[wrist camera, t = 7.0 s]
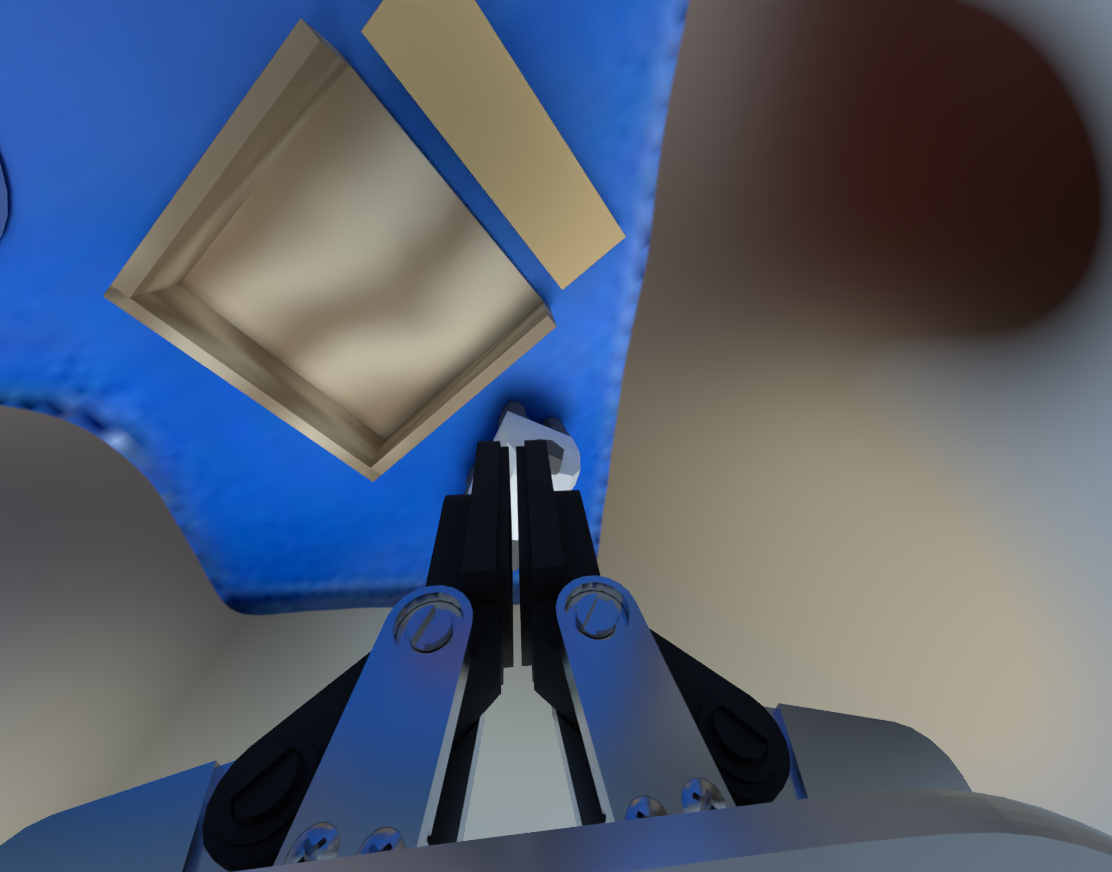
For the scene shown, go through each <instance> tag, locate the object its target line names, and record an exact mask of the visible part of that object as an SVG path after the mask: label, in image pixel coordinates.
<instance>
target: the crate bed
mask: <svg viewBox="0 0 1112 872" xmlns="http://www.w3.org/2000/svg"><path fill="white" fill-rule="evenodd" d="M103 296H104V297H105V298H106V299H108V300H109V301H111V302H112V303H114V304H115V305H117V306H118V307H120V308H121V309H122V310H124V311H125V312H127V313H128V314H130V315H131V316H133V317H134V318H136V319H137V320H138V321H140V322H141V323H143V324H144V325H146V326H147V327H149V328H150V329H152V330H153V331H154V332H156V333H157V334H159V335H160V336H162V337H163V338H165V339H166V340H167V341H169V342H170V343H172V344H173V345H175V346H176V347H178V348H179V349H181V350H182V351H183V352H185V353H186V354H188V355H189V356H191V357H192V358H194V359H195V360H197V361H198V362H199V363H201V364H202V365H204V366H205V367H207V368H208V369H210V370H211V371H213V372H214V373H215V374H217V375H218V376H220V377H221V378H223V379H224V380H226V381H227V382H229V383H230V384H231V385H233V386H234V387H236V388H237V389H239V390H240V391H242V392H243V393H244V394H246V395H247V396H249V397H250V398H252V399H253V400H255V401H256V402H258V403H259V404H260V405H262V406H263V407H265V408H266V409H268V410H269V411H271V412H272V413H274V414H275V415H276V416H278V417H279V418H281V419H282V420H284V421H285V422H287V423H288V424H290V425H291V426H292V427H294V428H295V429H297V430H298V431H300V432H301V433H303V434H304V435H306V436H307V437H308V438H310V439H311V440H313V441H314V442H316V443H317V444H319V445H320V446H321V447H323V448H324V449H326V450H327V451H329V452H330V453H332V454H333V455H335V456H336V457H337V458H339V459H340V460H342V461H343V462H345V463H346V464H348V465H349V466H351V467H352V468H353V469H355V470H356V471H358V472H359V473H361V474H362V475H364V476H365V477H367V478H368V479H369V480H371V481H372V482H374V481H375V480H376V479H377V478H378V477H379V476H381V475H382V474H383V473H384V472H385V471H387V470H388V469H389V468H390V467H391V466H392V465H394V464H395V463H396V462H397V461H398V460H400V459H401V458H402V457H403V456H404V455H405V454H407V453H408V452H409V451H410V450H411V449H413V448H414V447H415V446H416V445H417V444H418V443H420V442H421V441H422V440H423V439H424V438H426V437H427V436H428V435H429V434H430V433H431V432H433V431H434V430H435V429H436V428H437V427H439V426H440V425H441V424H442V423H443V422H444V421H446V420H447V419H448V418H449V417H450V416H452V415H453V414H454V413H455V412H456V411H457V410H459V409H460V408H461V407H462V406H463V405H465V404H466V403H467V402H468V401H469V400H470V399H472V398H473V397H474V396H475V395H476V394H477V393H479V392H480V391H481V390H482V389H483V388H485V387H486V386H487V385H488V384H489V383H490V382H492V381H493V380H494V379H495V378H496V377H498V376H499V375H500V374H501V373H502V372H503V371H505V370H506V369H507V368H508V367H509V366H511V365H512V364H513V363H514V362H515V361H516V360H518V359H519V358H520V357H521V356H522V355H524V354H525V353H526V352H527V351H528V350H529V349H531V348H532V347H533V346H534V345H535V344H537V343H538V342H539V341H540V340H541V339H542V338H544V337H545V336H546V335H547V334H548V333H550V332H551V331H552V330H553V329H554V328H555V327H557V326H556V323H555V321H554V318H553V315H552V313H551V310H550V308H549V307H548V306H547V305H546V303H545V302H544V301H543V300H542V299H541V297H540V296H539V295H538V294H537V292H536V291H535V290H534V289H533V288H532V286H531V285H530V284H529V283H528V281H527V280H526V279H525V278H524V277H523V275H522V274H521V273H520V272H519V270H518V269H517V268H516V267H515V266H514V264H513V263H512V262H511V261H510V259H509V258H508V257H507V256H506V255H505V253H504V252H503V251H502V250H501V248H500V247H499V246H498V245H497V244H496V242H495V241H494V240H493V239H492V237H491V236H490V235H489V234H488V233H487V231H486V230H485V229H484V228H483V226H482V225H481V224H480V223H479V222H478V220H477V219H476V218H475V217H474V215H473V214H472V213H471V212H470V211H469V209H468V208H467V207H466V206H465V204H464V203H463V202H462V201H461V200H460V198H459V197H458V196H457V195H456V193H455V192H454V191H453V190H452V189H451V187H450V186H449V185H448V184H447V182H446V181H445V180H444V179H443V178H442V176H441V175H440V174H439V173H438V171H437V170H436V169H435V168H434V167H433V165H432V164H431V163H430V162H429V160H428V159H427V158H426V157H425V156H424V154H423V153H422V152H421V151H420V149H419V148H418V147H417V146H416V145H415V143H414V142H413V141H412V140H411V138H410V137H409V136H408V135H407V134H406V132H405V131H404V130H403V129H402V127H401V126H400V125H399V124H398V123H397V121H396V120H395V119H394V118H393V116H392V115H391V114H390V113H389V112H388V110H387V109H386V108H385V107H384V105H383V104H382V103H381V102H380V101H379V99H378V98H377V97H376V96H375V94H374V93H373V92H372V91H371V90H370V88H369V87H368V86H367V85H366V83H365V82H364V81H363V80H362V79H361V77H360V76H359V75H358V74H357V72H356V71H355V70H354V69H353V68H352V66H351V65H350V64H349V63H348V61H347V60H346V59H345V58H344V57H343V55H342V54H341V53H340V52H339V51H338V50H337V49H336V48H335V47H334V46H333V45H332V44H330V43H329V42H328V41H327V40H326V39H325V38H323V37H322V36H321V35H320V34H319V33H318V32H316V31H315V30H314V29H313V28H312V27H311V26H310V25H308V24H307V23H306V22H305V21H304V20H303V19H301V18H300V20H299V21H298V23H297V24H296V25H295V27H294V28H293V30H292V31H291V32H290V34H289V35H288V37H287V38H286V39H285V41H284V42H283V44H282V45H281V47H280V48H279V49H278V51H277V52H276V54H275V55H274V56H273V58H272V59H271V61H270V62H269V63H268V65H267V66H266V68H265V69H264V70H263V72H262V73H261V75H260V76H259V77H258V79H257V80H256V82H255V83H254V84H253V86H252V87H251V89H250V90H249V91H248V93H247V94H246V96H245V97H244V99H243V100H242V101H241V103H240V104H239V106H238V107H237V108H236V110H235V111H234V113H233V114H232V115H231V117H230V118H229V120H228V121H227V122H226V124H225V125H224V127H223V128H222V129H221V131H220V132H219V134H218V135H217V136H216V138H215V139H214V141H213V142H212V144H211V145H210V146H209V148H208V149H207V151H206V152H205V153H204V155H203V156H202V158H201V159H200V160H199V162H198V163H197V165H196V166H195V167H194V169H193V170H192V172H191V173H190V174H189V176H188V177H187V179H186V180H185V181H184V183H183V184H182V186H181V187H180V188H179V190H178V191H177V193H176V194H175V196H174V197H173V198H172V200H171V201H170V203H169V204H168V205H167V207H166V208H165V210H164V211H163V212H162V214H161V215H160V217H159V218H158V219H157V221H156V222H155V224H154V225H153V226H152V228H151V229H150V231H149V232H148V233H147V235H146V236H145V238H144V239H143V241H142V242H141V243H140V245H139V246H138V248H137V249H136V250H135V252H134V253H133V255H132V256H131V257H130V259H129V260H128V262H127V263H126V264H125V266H124V267H123V269H122V270H121V271H120V273H119V274H118V276H117V277H116V278H115V280H114V281H113V283H112V284H111V285H110V287H109V288H108V290H107V291H106V293H105V294H104V295H103Z"/></svg>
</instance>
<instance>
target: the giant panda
mask: <svg viewBox="0 0 1112 872" xmlns="http://www.w3.org/2000/svg"><path fill="white" fill-rule="evenodd" d="M498 426H499V429H498V431H497V433H496V435H495V437H494V439H493V441H500V444H501V447H505V446H509V462H510V489H511V516H512V571H516V570H517V569H518V567H519V545H518V508H517V469H516V446H524V440H546V443H547V449H548V456H549V462H550V469H551V475H552V482H553V488H554V491H564V490H572V489H573V487H574V486H575V484H576V481H577V478H578V475H579V472H580V452H579V450H578V448H577V446H576V444H575V442H574V440H573V439H572V437H571V436H570V435H569V433H568V432H567V431H566V429H565V428H564V426H563V424H562V423H561V422H560V421H559V420H558V419H557V418H550V417H548V418H547V419H546V420H545V421H544V422H543V424H542V425H541V424H538V423H536V422H533V421H531V420H530V419H529V418H528V417H527V416H526V413H525V407H523V406H522V405H521V404H520V403H519V402H513V401H509V402H508V403H507V405H506V406H505V407H504V409H503V411H502V413H501V415H500V418H499V421H498ZM474 467H475V465H474V466H473V467H472V468H471V470H470V472H469V474H468V476H467V479H466V484H467V487H466V490H465V493H464V495H466V494H471V491H472V483H473V475H474Z"/></svg>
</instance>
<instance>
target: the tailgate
mask: <svg viewBox="0 0 1112 872" xmlns="http://www.w3.org/2000/svg"><path fill="white" fill-rule="evenodd" d="M361 32H362V33H363V34H364V36H365V37H366V38H367V40H368V41H369V42H370V43H371V45H372V46H373V47H374V49H375V50H376V51H377V52H378V54H379V55H380V56H381V58H382V59H383V60H384V61H385V63H386V64H387V65H388V67H389V68H390V69H391V70H392V72H393V73H394V74H395V76H396V77H397V78H398V79H399V81H400V82H401V83H402V85H403V86H404V87H405V88H406V90H407V91H408V92H409V94H410V95H411V96H412V97H413V99H414V100H415V101H416V103H417V104H418V105H419V106H420V108H421V109H422V110H423V112H424V113H425V114H426V115H427V117H428V118H429V119H430V121H431V122H432V123H433V124H434V126H435V127H436V128H437V130H438V131H439V132H440V133H441V135H442V136H443V137H444V139H445V140H446V141H447V142H448V144H449V145H450V146H451V148H452V149H453V150H454V151H455V153H456V154H457V155H458V157H459V158H460V159H461V160H462V162H463V163H464V164H465V166H466V167H467V168H468V169H469V171H470V172H471V173H472V175H473V176H474V177H475V178H476V180H477V181H478V182H479V184H480V185H481V186H482V187H483V189H484V190H485V191H486V193H487V194H488V195H489V196H490V198H491V199H492V200H493V202H494V203H495V204H496V205H497V207H498V208H499V209H500V211H501V212H502V213H503V214H504V216H505V217H506V218H507V220H508V221H509V222H510V223H511V225H512V226H513V227H514V229H515V230H516V231H517V232H518V234H519V235H520V236H521V238H522V239H523V240H524V241H525V243H526V244H527V245H528V246H529V248H530V249H531V250H532V252H533V253H534V254H535V255H536V257H537V258H538V259H539V261H540V262H541V263H542V264H543V266H544V267H545V268H546V270H547V271H548V272H549V273H550V275H551V276H552V277H553V279H554V280H555V281H556V282H557V284H558V285H559V286H560V288H561V289H562V290H563V289H564V288H565V287H566V286H568V285H569V284H570V283H571V282H572V281H574V280H575V279H576V278H577V277H578V276H580V275H581V274H582V273H583V272H584V271H586V270H587V269H588V268H589V267H590V266H591V265H593V264H594V263H595V262H596V261H597V260H599V259H600V258H601V257H602V256H603V255H605V254H606V253H607V252H608V251H609V250H611V249H612V248H613V247H614V246H615V245H616V244H618V243H619V242H620V241H621V240H622V239H624V238H625V237H626V236H625V235H624V233H623V232H622V230H621V229H620V227H619V225H618V224H617V222H616V221H615V219H614V218H613V216H612V214H611V213H610V211H609V210H608V208H607V207H606V205H605V203H604V202H603V200H602V199H601V197H600V196H599V194H598V193H597V191H596V189H595V188H594V186H593V185H592V183H591V182H590V180H589V178H588V177H587V175H586V174H585V172H584V171H583V169H582V167H581V166H580V164H579V163H578V161H577V160H576V158H575V156H574V155H573V153H572V152H571V150H570V149H569V147H568V145H567V144H566V142H565V141H564V139H563V138H562V136H561V134H560V133H559V131H558V130H557V128H556V127H555V125H554V124H553V122H552V120H551V119H550V117H549V116H548V114H547V113H546V111H545V109H544V108H543V106H542V105H541V103H540V102H539V100H538V98H537V97H536V95H535V94H534V92H533V91H532V89H531V87H530V86H529V84H528V83H527V81H526V80H525V78H524V76H523V75H522V73H521V72H520V70H519V69H518V67H517V65H516V64H515V62H514V61H513V59H512V58H511V56H510V55H509V53H508V51H507V50H506V48H505V47H504V45H503V44H502V42H501V40H500V39H499V37H498V36H497V34H496V33H495V31H494V29H493V28H492V26H491V25H490V23H489V22H488V20H487V18H486V17H485V15H484V14H483V12H482V11H481V9H480V7H479V6H478V4H477V3H476V1H475V0H383V1H382V2H381V4H380V5H379V7H378V8H377V10H376V11H375V12H374V14H373V15H372V17H371V18H370V19H369V21H368V22H367V24H366V25H365V26H364V28H363V29H362V31H361Z"/></svg>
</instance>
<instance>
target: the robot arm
mask: <svg viewBox="0 0 1112 872" xmlns="http://www.w3.org/2000/svg"><path fill="white" fill-rule="evenodd" d="M7 216H8V203H7V188H6V184H5V180H4V176H3V172H2V168H1V164H0V237H1V236H2V234H3V230H4V227H5V223H6V220H7ZM516 469H517V508H518V545H519V581H520V613H521V614H520V615H521V616H520V617H521V651H522V666H529V665H532V676H533V682H534V690H535V691H536V692H537V693H538V694H539V695H540V696H541V697H542V698H544V699H545V700H546V701H547V702H548V703H549V704H550V705H551V706H552V715H553V719H554V724H555V728H556V733H557V737H558V742H559V746H560V751H561V755H562V760H563V764H564V769H565V773H566V778H567V782H568V787H569V791H570V796H571V800H572V805H573V809H574V814H575V818H576V823H577V827H570V828H563V829H554V830H547V831H539V832H531V833H523V834H515V835H508V836H501V837H492V838H485V839H477V840H469V841H463V836H464V831H465V824H466V819H467V813H468V808H469V802H470V797H471V791H472V786H473V780H474V775H475V769H476V764H477V758H478V752H479V747H480V742H481V736H482V729H483V724H484V715H485V711H486V710H487V708H488V707H489V706H490V705H491V704H492V703H493V702H494V700H495V699H496V698H497V697H498V696H499V695H500V694H501V685H503V668H506V667H513V571H512V516H511V489H510V462H509V446H505V447H501V444H500V441H478V444H477V451H476V459H475V467H474V475H473V483H472V491H471V494H466V495H446V497H445V499H444V502H443V507H442V512H441V516H440V521H439V526H438V531H437V535H436V540H435V545H434V549H433V554H432V559H431V563H430V568H429V573H428V577H427V582H426V587H424V588H421V589H418V590H415V591H414V592H412V593H410V594H409V595H407V596H405V597H404V598H403V599H402V600H400V601H399V602H398V603H397V604H396V605H395V606H394V607H393V609H392V610H391V612H390V613H389V615H388V617H387V618H386V620H385V622H384V624H383V627H382V629H381V631H380V633H379V635H378V637H377V640H376V642H375V644H374V646H373V648H372V651H371V652H370V653H368V654H367V655H366V656H364V657H363V658H362V659H361V660H359V661H358V662H357V663H356V664H354V665H353V666H352V667H351V668H349V669H348V670H347V671H345V672H344V673H343V674H342V675H340V676H339V677H338V678H337V679H335V680H334V681H333V682H332V683H330V684H329V685H328V686H326V687H325V688H324V689H323V690H322V691H320V692H319V693H318V694H316V695H315V696H314V697H313V698H311V699H310V700H309V701H307V702H306V703H305V704H304V705H302V706H301V707H300V708H299V709H297V710H296V711H295V712H294V713H292V714H291V715H290V716H289V717H287V718H286V719H285V720H283V721H282V722H281V723H280V724H278V725H277V726H276V727H275V728H273V729H272V730H271V731H269V732H268V733H267V734H266V735H264V736H263V737H262V738H261V739H259V740H258V741H257V742H256V743H254V745H252V746H251V747H250V748H248V749H247V750H246V752H244V753H243V754H242V755H241V756H240V757H239V758H238V759H237V760H236V761H233V762H230V763H227V764H224V765H220V764H219V763H218V762H217V761H213V762H210V763H207V764H204V765H201V766H198V767H195V768H192V769H189V770H186V771H182V772H180V773H177V774H174V775H171V776H167V777H165V778H161V779H158V780H155V781H152V782H149V783H147V784H143V785H141V786H137V787H134V788H131V789H128V790H125V791H122V792H119V793H116V794H113V795H110V796H107V797H104V798H101V799H98V800H95V801H92V802H89V803H86V804H83V805H80V806H77V807H74V808H71V809H68V810H65V811H62V812H59V813H56V814H53V815H51V816H49V817H46V818H44V819H42V820H40V821H38V822H36V823H34V824H32V825H30V826H27V827H26V828H24V829H23V830H21V831H20V832H19V833H17V834H16V835H14V836H13V837H12V838H10V839H9V840H7V841H6V842H5V843H3V844H2V845H0V872H1112V836H1110V835H1107V834H1105V833H1103V832H1101V831H1099V830H1097V829H1094V828H1092V827H1090V826H1088V825H1085V824H1083V823H1081V822H1078V821H1076V820H1073V819H1070V818H1068V817H1065V816H1062V815H1060V814H1057V813H1054V812H1052V811H1049V810H1046V809H1043V808H1041V807H1037V806H1033V805H1029V804H1026V803H1022V802H1018V801H1015V800H1011V799H1007V798H1004V797H998V796H992V795H987V794H982V793H976V792H972V791H971V789H970V787H969V786H968V784H967V782H966V780H965V779H964V777H963V775H962V774H961V773H960V771H959V770H958V769H957V767H956V766H955V765H954V763H953V762H952V761H951V759H950V758H949V757H948V756H947V755H946V754H945V753H944V752H943V751H942V750H941V749H940V748H939V747H938V746H936V744H934V743H933V742H932V741H931V740H930V739H929V738H927V737H925V736H924V735H922V734H921V733H919V732H917V731H916V730H914V729H913V728H911V727H908V726H905V725H902V724H899V723H896V722H892V721H886V720H879V719H873V718H867V717H861V716H854V715H849V714H842V713H836V712H830V711H824V710H818V709H811V708H805V707H799V706H793V705H786V704H780V703H779V704H778V705H777V707H776V708H769V707H764V706H762V705H761V704H760V703H758V702H757V701H756V700H755V699H754V698H752V697H751V696H750V695H748V694H747V693H745V692H744V691H742V690H741V689H739V688H737V687H736V686H735V685H733V684H731V683H730V682H729V681H727V680H726V679H724V678H723V677H721V676H720V675H718V674H717V673H715V672H714V671H712V670H711V669H709V668H708V667H706V666H705V665H703V664H702V663H700V662H699V661H697V660H696V659H694V658H693V657H691V656H690V655H688V654H687V653H685V652H684V651H682V650H681V649H679V648H678V647H676V646H675V645H673V644H672V643H670V642H669V641H667V640H666V639H664V638H663V637H661V636H660V635H658V634H657V633H655V632H654V631H652V630H651V629H649V627H648V625H647V623H646V621H645V619H644V617H643V615H642V613H641V611H640V609H639V607H638V605H637V603H636V601H635V600H634V598H633V597H632V595H631V594H630V592H629V591H628V590H627V589H626V588H624V587H623V586H622V585H621V584H620V583H618V582H616V581H614V580H612V579H609V578H606V577H601V576H600V572H599V568H598V564H597V560H596V556H595V552H594V547H593V543H592V539H591V535H590V531H589V527H588V523H587V518H586V514H585V510H584V506H583V502H582V498H581V494H580V491H579V490H564V491H554V488H553V482H552V475H551V469H550V462H549V456H548V449H547V443H546V440H524V446H516Z"/></svg>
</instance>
